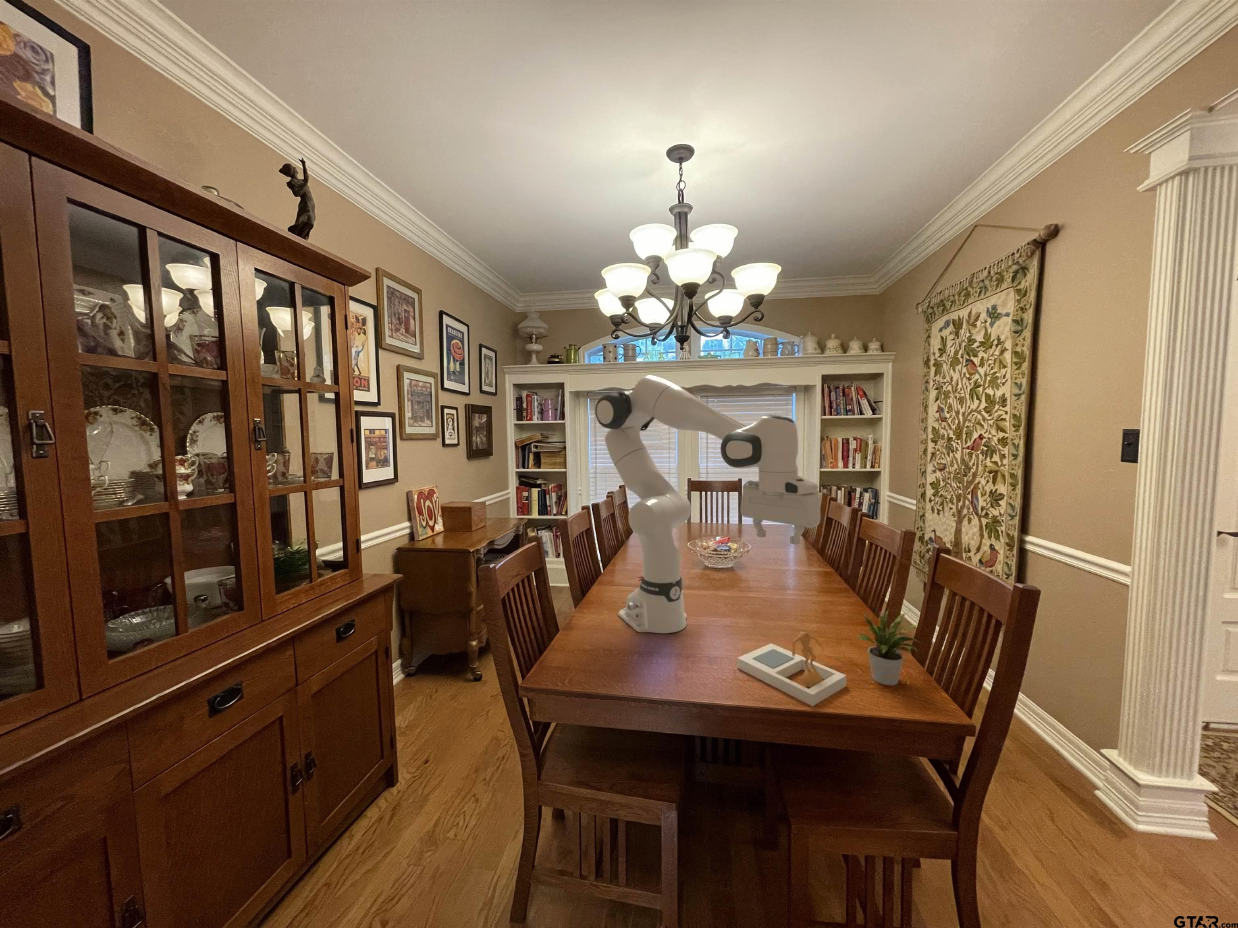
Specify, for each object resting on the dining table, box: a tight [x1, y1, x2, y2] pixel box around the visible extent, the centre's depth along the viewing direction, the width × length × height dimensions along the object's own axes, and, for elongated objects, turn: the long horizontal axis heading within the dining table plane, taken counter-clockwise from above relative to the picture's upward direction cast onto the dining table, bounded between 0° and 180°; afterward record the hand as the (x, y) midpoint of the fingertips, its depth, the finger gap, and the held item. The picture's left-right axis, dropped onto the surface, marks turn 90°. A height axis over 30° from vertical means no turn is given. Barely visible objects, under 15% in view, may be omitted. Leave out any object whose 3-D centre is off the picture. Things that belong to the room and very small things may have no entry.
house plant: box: [846, 609, 922, 686], centre depth 106 cm, size 14×14×16 cm
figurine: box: [791, 631, 825, 688], centre depth 105 cm, size 8×6×12 cm
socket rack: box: [736, 643, 847, 707], centre depth 109 cm, size 20×13×3 cm, turn 35°
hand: (777, 540), depth 112 cm, fingers open, 8 cm apart
